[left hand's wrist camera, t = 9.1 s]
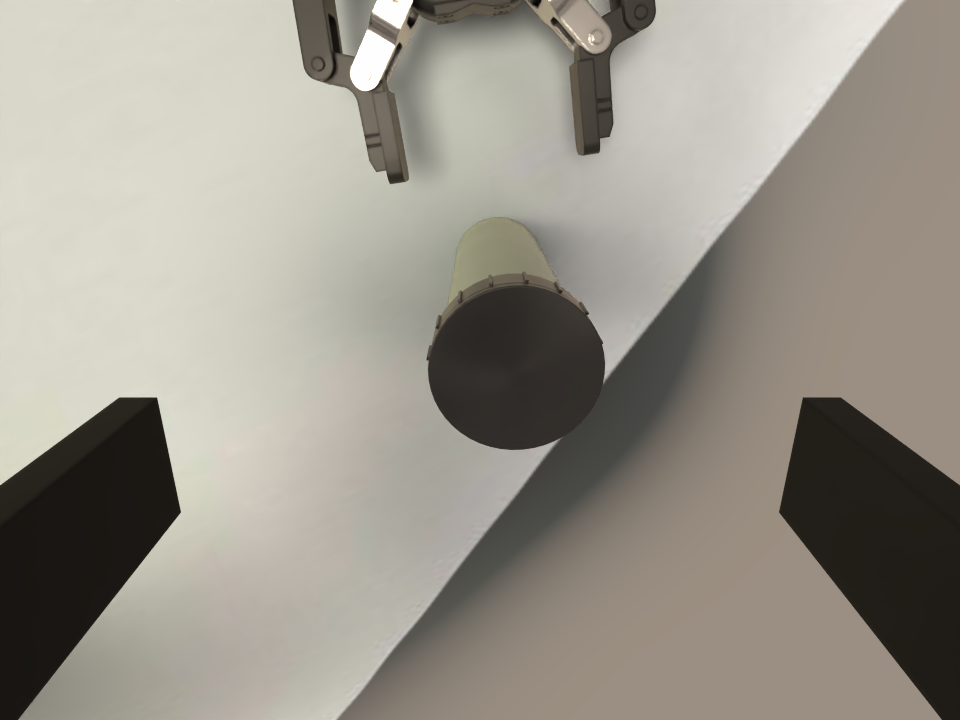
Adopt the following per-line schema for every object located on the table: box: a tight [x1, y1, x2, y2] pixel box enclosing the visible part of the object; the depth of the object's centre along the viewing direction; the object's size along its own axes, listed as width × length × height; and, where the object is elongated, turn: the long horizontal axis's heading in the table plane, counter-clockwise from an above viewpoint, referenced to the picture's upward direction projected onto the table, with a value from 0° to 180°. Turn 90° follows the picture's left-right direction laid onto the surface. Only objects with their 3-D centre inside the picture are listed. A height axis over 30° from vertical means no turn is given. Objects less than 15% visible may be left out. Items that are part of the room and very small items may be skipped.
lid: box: [427, 272, 605, 450], centre depth 19 cm, size 6×6×2 cm
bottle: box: [447, 218, 560, 306], centre depth 27 cm, size 5×5×17 cm
